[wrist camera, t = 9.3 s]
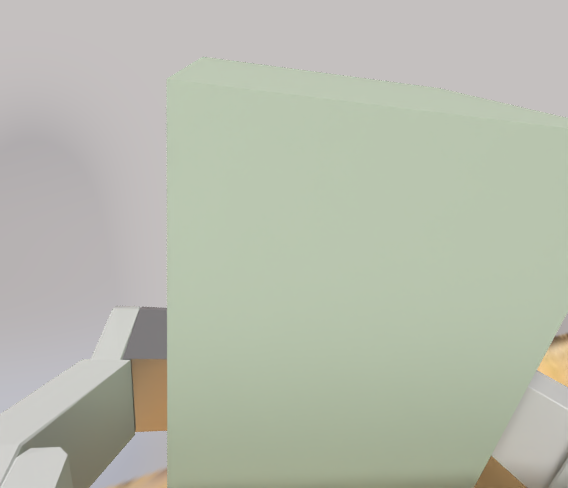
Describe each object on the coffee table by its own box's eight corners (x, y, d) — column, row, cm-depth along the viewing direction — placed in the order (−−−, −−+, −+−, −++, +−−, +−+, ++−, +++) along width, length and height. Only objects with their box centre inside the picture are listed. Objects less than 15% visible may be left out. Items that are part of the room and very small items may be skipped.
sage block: (331, 474, 14) (439, 88, 9) (376, 668, 10) (660, 139, 4) (188, 479, 13) (202, 56, 8) (167, 693, 9) (166, 79, 3)
